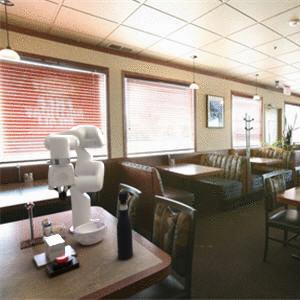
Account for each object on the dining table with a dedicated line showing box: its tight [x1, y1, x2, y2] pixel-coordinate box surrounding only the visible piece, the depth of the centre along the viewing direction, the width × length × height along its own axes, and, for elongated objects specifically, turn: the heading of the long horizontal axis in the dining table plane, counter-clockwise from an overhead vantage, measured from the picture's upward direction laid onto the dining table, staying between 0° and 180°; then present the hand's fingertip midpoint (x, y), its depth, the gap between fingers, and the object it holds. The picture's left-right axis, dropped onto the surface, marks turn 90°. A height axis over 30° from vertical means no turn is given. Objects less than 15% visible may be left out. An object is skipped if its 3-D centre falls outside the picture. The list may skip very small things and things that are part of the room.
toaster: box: [43, 234, 66, 261], centre depth 106 cm, size 11×6×7 cm, turn 47°
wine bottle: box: [116, 191, 134, 261], centre depth 106 cm, size 6×6×30 cm
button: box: [56, 254, 68, 263], centre depth 97 cm, size 4×4×2 cm
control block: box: [45, 256, 80, 279], centre depth 98 cm, size 10×8×4 cm
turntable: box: [32, 245, 78, 270], centre depth 106 cm, size 14×12×2 cm
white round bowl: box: [73, 221, 108, 246], centre depth 123 cm, size 15×15×8 cm
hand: (62, 200), depth 111 cm, fingers closed
